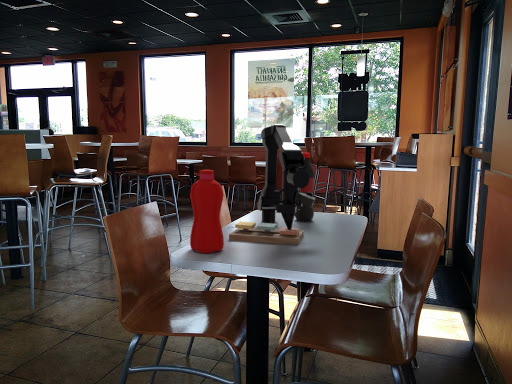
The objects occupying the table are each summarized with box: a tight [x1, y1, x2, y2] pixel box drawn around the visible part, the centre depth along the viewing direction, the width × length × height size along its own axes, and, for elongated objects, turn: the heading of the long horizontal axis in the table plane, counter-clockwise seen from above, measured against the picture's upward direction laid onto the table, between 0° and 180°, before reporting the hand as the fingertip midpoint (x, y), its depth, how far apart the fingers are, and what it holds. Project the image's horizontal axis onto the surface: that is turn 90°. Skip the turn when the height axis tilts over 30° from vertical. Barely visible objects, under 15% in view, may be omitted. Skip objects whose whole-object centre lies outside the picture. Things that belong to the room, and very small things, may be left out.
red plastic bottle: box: [189, 169, 225, 254], centre depth 120 cm, size 9×11×25 cm
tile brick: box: [280, 227, 300, 235], centre depth 136 cm, size 6×6×3 cm
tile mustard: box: [234, 221, 257, 232], centre depth 140 cm, size 6×6×3 cm
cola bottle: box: [294, 151, 316, 222], centre depth 171 cm, size 8×8×30 cm
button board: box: [228, 226, 305, 246], centre depth 138 cm, size 14×24×2 cm, turn 75°
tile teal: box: [256, 222, 278, 233], centre depth 138 cm, size 6×6×3 cm
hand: (289, 229), depth 136 cm, fingers closed, pressing on tile brick
